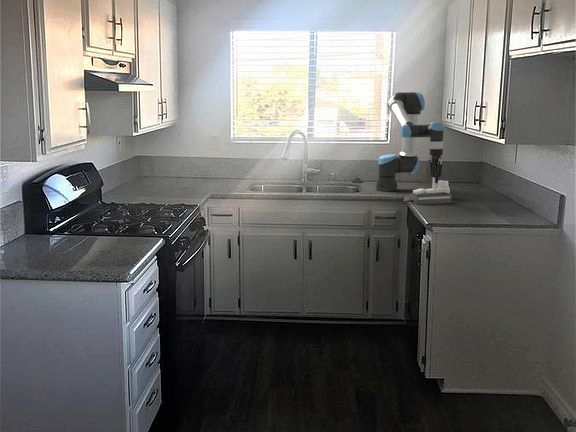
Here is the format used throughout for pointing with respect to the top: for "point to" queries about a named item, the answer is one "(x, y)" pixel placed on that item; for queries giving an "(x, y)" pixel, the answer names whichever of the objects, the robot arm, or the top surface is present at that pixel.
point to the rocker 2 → (431, 190)
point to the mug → (443, 185)
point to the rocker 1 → (419, 191)
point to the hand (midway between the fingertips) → (435, 188)
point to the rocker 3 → (442, 190)
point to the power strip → (430, 198)
